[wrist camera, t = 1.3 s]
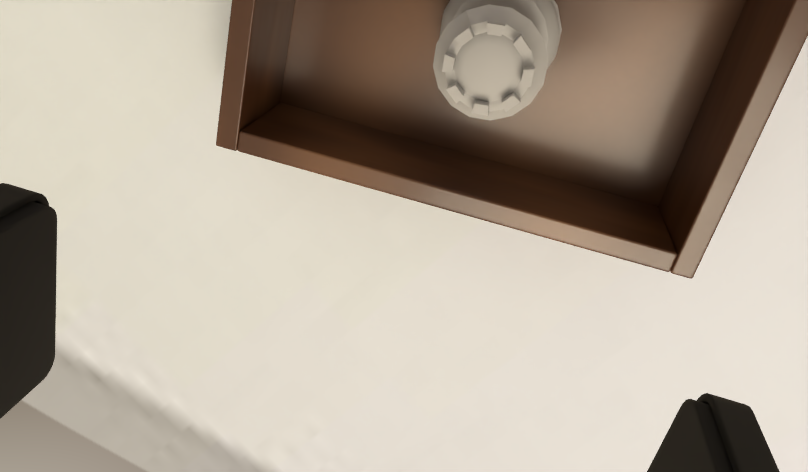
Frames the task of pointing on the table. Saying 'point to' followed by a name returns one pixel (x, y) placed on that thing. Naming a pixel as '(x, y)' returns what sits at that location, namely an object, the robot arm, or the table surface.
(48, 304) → the robot arm
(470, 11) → the rook chess piece
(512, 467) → the table surface
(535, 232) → the crate
